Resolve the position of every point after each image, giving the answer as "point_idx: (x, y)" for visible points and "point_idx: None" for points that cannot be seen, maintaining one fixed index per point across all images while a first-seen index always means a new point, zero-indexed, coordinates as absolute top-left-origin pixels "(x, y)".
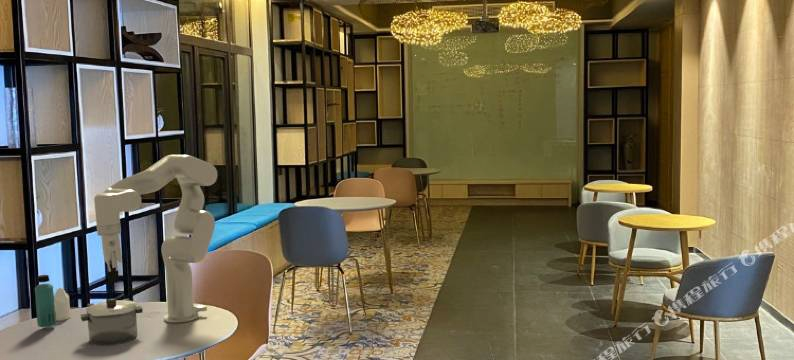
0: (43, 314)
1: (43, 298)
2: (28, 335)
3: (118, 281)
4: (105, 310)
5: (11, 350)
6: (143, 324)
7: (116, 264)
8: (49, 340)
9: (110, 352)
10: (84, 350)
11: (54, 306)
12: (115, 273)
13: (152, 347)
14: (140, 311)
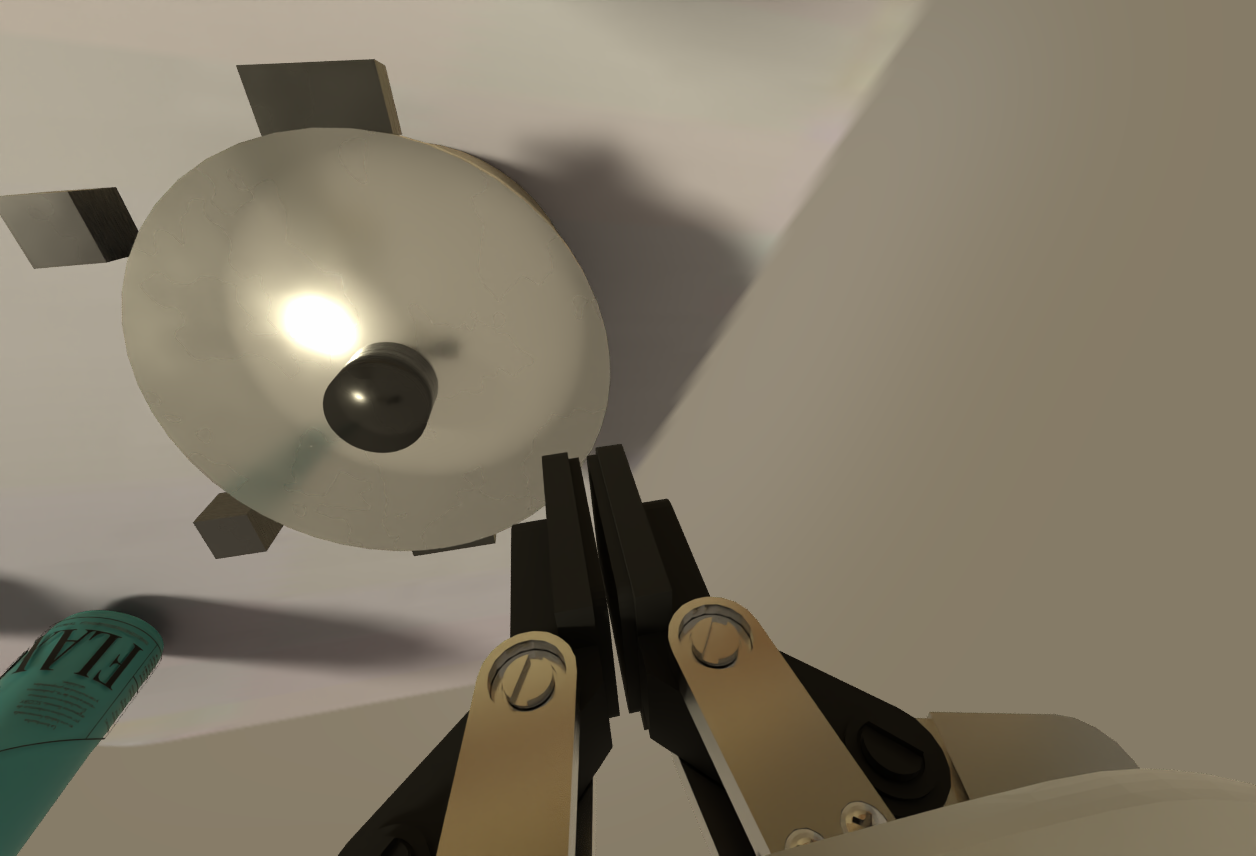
0: (116, 708)
1: (31, 815)
2: (250, 666)
3: (622, 450)
4: (524, 425)
5: (476, 672)
6: (75, 50)
7: (865, 791)
8: (370, 584)
9: (710, 323)
10: (610, 438)
11: (5, 706)
12: (705, 591)
13: (755, 72)
14: (388, 89)
